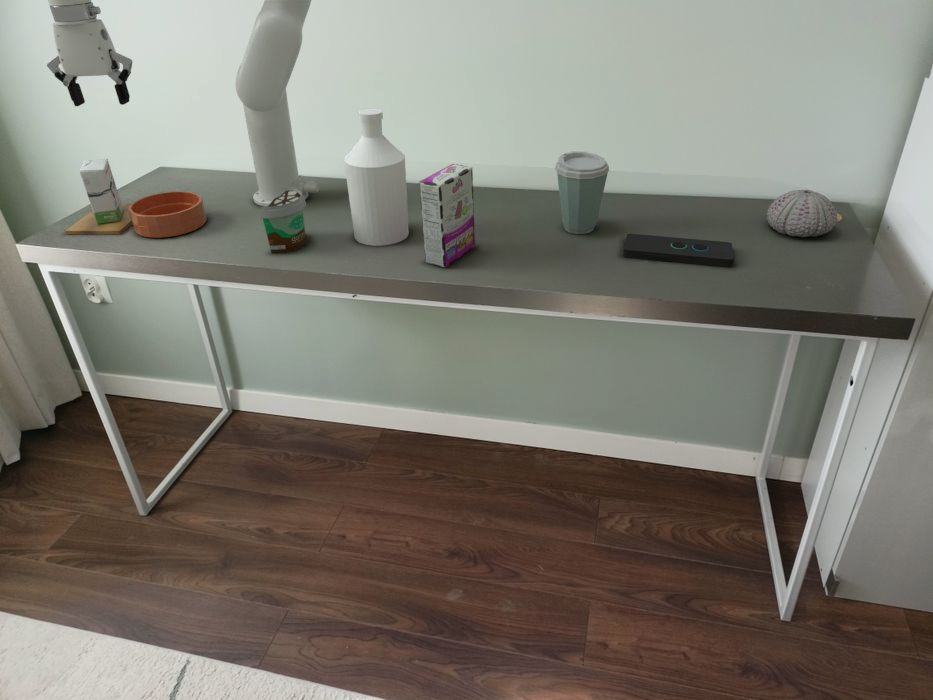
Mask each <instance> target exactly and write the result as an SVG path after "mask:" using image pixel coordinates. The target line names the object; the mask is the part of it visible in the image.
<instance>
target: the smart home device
mask: <svg viewBox="0 0 933 700" xmlns="http://www.w3.org/2000/svg"><path fill="white" fill-rule="evenodd" d="M622 256H623V257H624V258H630V259H640V260H650V261H662V262H672V263H682V264H693V265H703V266H712V267H723V268H732V267H733V263H734V251H733V243H732V242H729V241H718V240H709V239H708V240H707V239H697V238H685V237H674V236H664V235H663V236H662V235H652V234H643V233H641V234H639V233H626V236H625V241H624V245H623V253H622Z"/></svg>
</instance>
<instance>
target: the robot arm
mask: <svg viewBox="0 0 933 700" xmlns="http://www.w3.org/2000/svg"><path fill="white" fill-rule="evenodd" d="M47 2H48V5H49V8H50V11H51V14H52V17H53V21H54V22H53V23H52V31H53V37H54V43H55V47H56V51H57V55H56V56H55V57H53V58H52V59H51V60H50V61H48V62H47V63H46V67H47V68H48V70H50V71H51V73H52V74H53V75H54V77H55V78H56V79H57V80H59V82H61V83H62V85H63V86H65V87H67V90H68V93H69V96H70V99H71V101H72V102H73V105H74V107H79V106H81V105H84V104H85V103H86V100H85V98H84V97H85V96H84V94H83V91H82V88H81V86H80V84H79V82H77V79H78V78H79V77H99V76H100V77H101V76H108V77H109V78H110V79H111V80H112V81H113V82H114V83H115V84H114V89H115V93H116V97H117V99H118V102H119V105H123V106H124V105H126V104H128V103H129V102H130V97H131V95H130V91H129V88H128V86H127V81H128V79H129V77H130V75H131V74H132V68H133V60H132V59H131V58H129V57H127V56H125V55H123V54H120V53H118V52H117V51H116V49H115V46H114V44H113V41H112V38H111V36H110V34H109V32H108V30H107V28H106V25H105V24H104V22H103V20H102V19H98V18H97V17H98V15H101V13H102V12H101V11H102V10H101V8H100V6H95V5H94V2H92V0H47ZM311 3H312V0H264V2H263V4H262V7H261V9H260V11H259V12H258V14H257V15H256V17H255V20H254V24H253V27H252V30H251V33H250V36H249V39H248V42H247V45H246V49H245V51H244V55H243V56H242V60H241V63H240V65H239V67H238V69H237V73H236V78H235V91H236V93H237V97H238V98H239V100H240V102H241V103H242V107H243V112H244V117H245V123H246V128H247V134H248V140H249V144H250V150H251V155H252V160H253V166H254V170H255V172H254V173H255V176H256V182H257V188H258V190H257V191H255V192H254V194H253V195H252V198H253V199H252V200H253V202H254V203H255V204H256V205H257V206H260V207H268V206H269V205H270V203H271V202H272V201H273V200H274V199H275V198H277V197H279V196H281V195H282V194H283V193H284V192H285V187H291V188H295V189H298V190H299V191H300V192H301V194H302V195H303V197H304V199H305V200H307V199H308V197H309V193H310V194H311V193H312V194H313V193H318V192H319V184H317V183H316V182H315V181H306V180H304V177H303V175H300V174H299V169H298V168H299V167H298V162H297V156H296V150H295V144H294V136H293V129H292V123H291V121H292V120H291V116H290V109H289V108H290V107H289V102H288V94H287V93H288V92H287V87H288V85H289V82H290V79H291V77H292V73H293V71H294V68H295V66H296V62H297V59H298V57H299V54H300V51H301V48H302V44H303V28H304V24H305V22H306V21H305V20H306V19H307V16H308V12H309V11H310V10H309V9H310V7H311ZM121 65H122V70H120V69H121ZM59 66H61V67H62V70H61V68H60V67H59Z"/></svg>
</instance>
